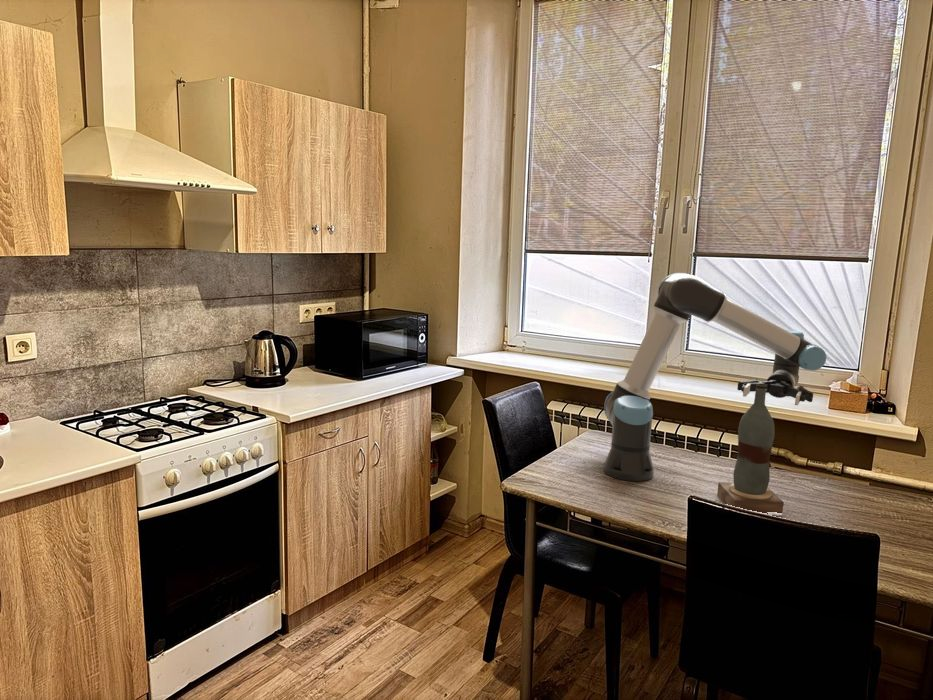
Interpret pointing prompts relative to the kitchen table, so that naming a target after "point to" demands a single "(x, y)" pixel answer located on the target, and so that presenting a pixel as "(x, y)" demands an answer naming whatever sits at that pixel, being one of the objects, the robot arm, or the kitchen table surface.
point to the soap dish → (750, 499)
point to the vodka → (754, 447)
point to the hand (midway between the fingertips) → (770, 396)
